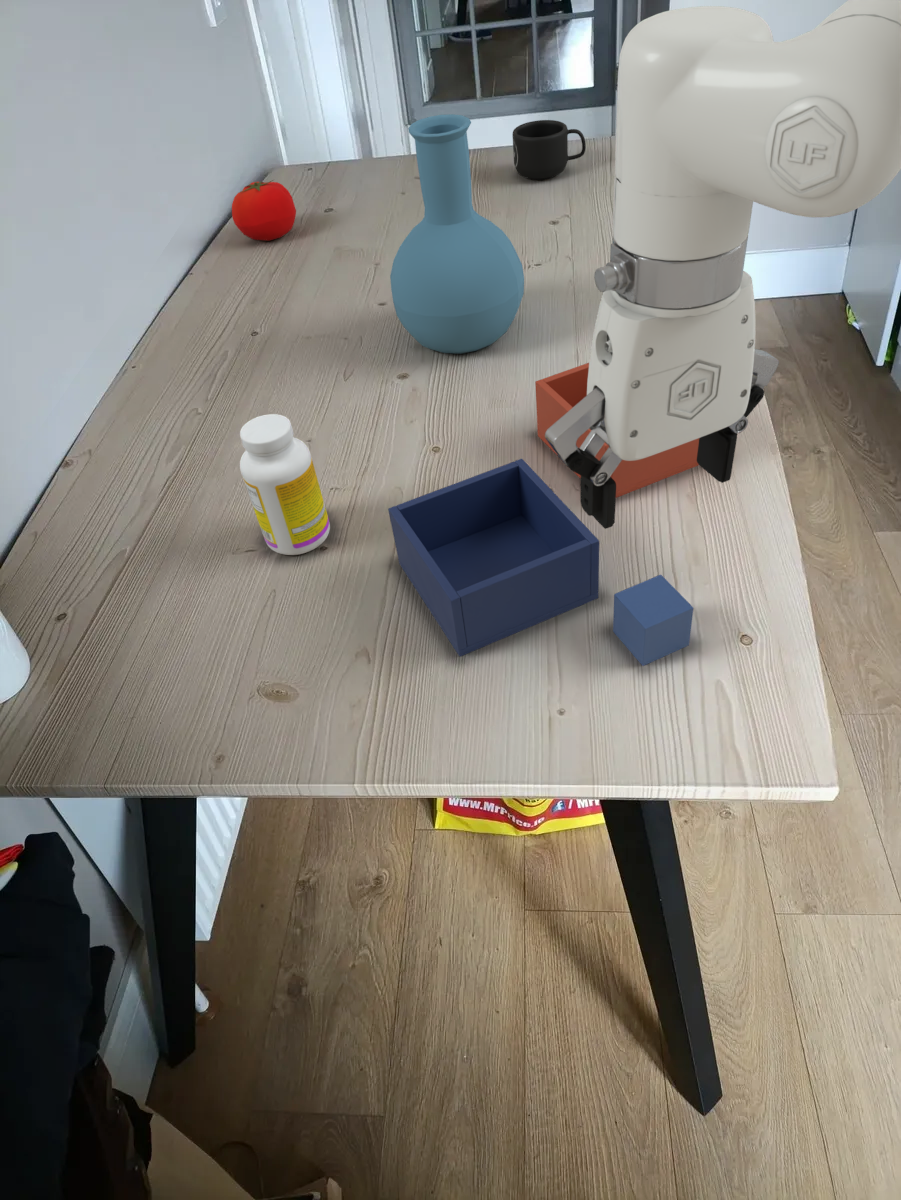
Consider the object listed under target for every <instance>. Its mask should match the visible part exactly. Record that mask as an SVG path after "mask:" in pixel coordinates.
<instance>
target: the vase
mask: <svg viewBox="0 0 901 1200" xmlns="http://www.w3.org/2000/svg"><path fill="white" fill-rule="evenodd" d="M471 124H472V121H471V119H470V118H469V117H467V116H465V115H462V114H456V113H455V114H454V113H452V114H451V113H450V114H449V113H447V114H437V115H430V116H427V117H423V118H421V119H418V120H416V121H414V122H412V123H411V124H410V125H409V127H408V128H407V130H408V133H409V135H410V136H411V137H412V138H413V139H414V146H415V154H416V155H415V156H416V162H417V170H418V176H419V183H420V190H421V195H422V201H423V206H424V212H423V213H424V216H423V218H422V220H421V221H420V222H418V223H417V224H416V225H414V227H413V228H412V229H411V230H410V232H409V233H408V234H407V235H406V236H405V238H404V240H403V241H402V243H401V244H400V246H399V247H398V250H397V251H396V254H395V256H394V258H393V260H392V266H391V271H390V289H391V290H390V291H391V298H392V302H393V307H394V310H395V314H396V317H397V318H398V320H399V322H400V323H401V325H402V327H403V328H404V329H405V330H406V331H407V332H408V333H409V334H410V335H411V336H412V337H413V339H415V341H416V342H417V343H419V344H420V345H421V346H422V347H424V348H426V349H428V350H431V351H435V352H439V353H443V354H457V355H459V354H461V355H462V354H467V353H472V352H477V351H480V350H483V349H484V348H487V347H489V346H491V345H493V344H494V343H495V342H496V341H498V340H499V339H500V338H502V337H503V335H505V334H506V333H507V332H508V330H509V329H510V327H511V325H512V323H513V321H514V320H515V318H516V315H517V313H518V311H519V308H520V305H521V302H522V300H523V297H524V294H525V274H524V267H523V264H522V261H521V259H520V257H519V254H518V253H517V251H516V249H515V247H514V244H513V243H512V241H511V239H510V238H509V237H508V235H507V234H506V233H505V232H504V231H503V230H502V229H501V228H500V227H499V226H498V225H496V224H495V223H494V222H492V221H491V220H489V218H488V219H487V218H486V217H484V216H482V215H481V214H480V213H478V212H477V211H476V210H475V209H474V206H473V196H472V195H473V194H472V175H471V174H472V173H471V161H470V160H471V159H470V150H469V139H468V130H469V128H470V126H471Z"/></svg>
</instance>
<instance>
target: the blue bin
mask: <svg viewBox="0 0 901 1200" xmlns="http://www.w3.org/2000/svg"><path fill="white" fill-rule="evenodd" d="M387 510H388V514H389V515H388V516H389V520H390V525H391V530H392V535H393V540H394V545H395V549H396V554H397V559H398V564H399V566H400V567H401V569H402V570H403V572H404V573H405V575H406V577H407V578H408V580H409V581H410V582H411V584H412V586H413V587H414V588H415V590H416V592H417V594H418V595H419V597H420V598H421V599H422V601H423V603H424V604H425V606H426V607H427V609H428V610H429V612H430V613H431V615H432V616H433V619H434V620H435V621H436V623H437V624H438V626H439V627H440V629H441V630H442V632H443V633H444V635H445V637H446V638H447V640H448V641H449V643H450V644H451V646H452V648H453V649H454V650H455V652H456V654H457V655H458V656H459V657H463V656H465V655H467V654H470V653H472V652H474V651H477V650H479V649H481V648H482V649H483V648H485V647H486V646H489V645H491V644H493V643H496V642H499V641H501V640H503V639H506V638H508V637H510V636H512V635H515V634H518V633H519V632H522V631H524V630H526V629H529V628H531V627H535V626H536V625H538V624H540V623H543V622H545V621H548V620H550V619H552V618H555V617H557V616H559V615H562V614H564V613H567V612H569V611H571V610H574V609H577V608H578V607H581V606H583V605H585V604H588V603H591V602H592V601H596V600H597V599H599V588H600V587H599V586H600V584H599V581H600V540H599V538H598V537H597V536H596V535H595V534H594V533H592V531H591V530H590V529H589V528H588V526H586V525H585V524H584V523H583V521H581V519H580V518H578V516H577V515H576V514H575V513H574V512H573V511H572V510H571V509H570V508H569V507H568V506H567V505H566V503H565V502H564V501H562V499H561V498H560V497H559V496H558V495H557V494H556V493H555V492H554V490H552V489H551V488H550V486H548V484H546V482H545V481H544V480H543V479H542V478H541V477H540V475H538V474H537V473H536V472H535V470H533V468H532V467H531V466H530V465H528V463H527V462H526V461H525V460H524V459H523V458H520V459H519V458H518V459H517V460H514V461H511V462H509V463H506V464H504V465H503V464H502V465H501V466H498V467H495V468H492V469H490V470H488V471H485V472H482V473H479V474H477V475H473V476H472V477H469V478H466V479H464V480H461V481H460V480H459V481H458V482H455V483H453V484H450V485H448V486H445V487H442V488H439V489H436V490H434V491H431V492H428V493H425V494H423V495H420V496H417V497H415V498H413V499H412V498H411V499H409V500H407V501H404V502H402V503H399V504H397V505H394V506H390V507H389V508H387Z"/></svg>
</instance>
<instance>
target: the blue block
mask: <svg viewBox="0 0 901 1200" xmlns="http://www.w3.org/2000/svg"><path fill="white" fill-rule="evenodd" d="M693 615H694V606H693V605H692V604H691V603H689V601H688V600H687V599H686V598H685V597H684V596H682V594H681V593H680V592H679V591H678V590H677V589H676V588H675V587H674V586H673V585H672V584H671V583H670V582H669V581H668V580H667V578H665V577H664V575H662V574H658V575H656V576H653V577H651V578H649V579H646V580H644V581H642V582H640V583H637V584H635V585H632V586H630V587H627V588H625V589H623V590H620V591H618V592H616V593H614V594H613V621H612V632H613V633H614V635H615V636H616V637H617V638H618V639H619V641H621V642H622V644H623V645H624V646H625V648H626V649H627V650H628V651H629V652H630V653H631V654H632V656H633V657H634V658H635V659H636V660H637V661H638V663H639V664H640V665H641V666H642V667H644V666H647V665H648V664H651V663H653V662H655V661H657V660H660V659H662V658H664V657H667V656H668V655H670V654H671V655H672V654H673V653H675V652H678V651H680V650H681V649H684V648H686V647H689V646H690V640H691V632H692V625H693V617H694V616H693Z"/></svg>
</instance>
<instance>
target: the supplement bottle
mask: <svg viewBox="0 0 901 1200" xmlns="http://www.w3.org/2000/svg"><path fill="white" fill-rule="evenodd" d="M294 435H295V434H294V429H293V426H292V423H291V421H290V419H289V418H288V417H286V416H285V415H282V414H277V413H269V414H263V415H258V416H256V417H253V418H252V419H250V420H248V421H246V422H245V423H244V424H243V425H242V427H240V431H239V437H240V441H241V445H242V447H243V448H244V449H245V450H244V452H243V453H242V455H241V458H240V461H239V470H240V474H241V477H242V479H243V482H244V485H245V487H246V490H247V493H248V496H249V499H250V502H251V505H252V508H253V511H254V513H255V516H256V519H257V522H258V525H259V528H260V531H261V534H262V537H263V539H264V542H265V544H266V545H267V546H268V548H269V549H270V550H271V551H273V552H275V553H277V554H280V555H284V556H285V555H286V556H297V555H303V554H305V553H309V552H311V551H313V550H315V549H316V548H318V547H320V546H321V545H322V544H323V543H324V542H325V541H326V540H327V538H328V537H329V534H330V531H331V530H330V529H331V523H330V518H329V515H328V512H327V507H326V504H325V501H324V498H323V494H322V491H321V487H320V483H319V480H318V476H317V472H316V469H315V466H314V461H313V457H312V454H311V451H310V448H309V447H308V445H306V443H305V442H304V441H302V440H301V439H299V438H297V437H294Z"/></svg>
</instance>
